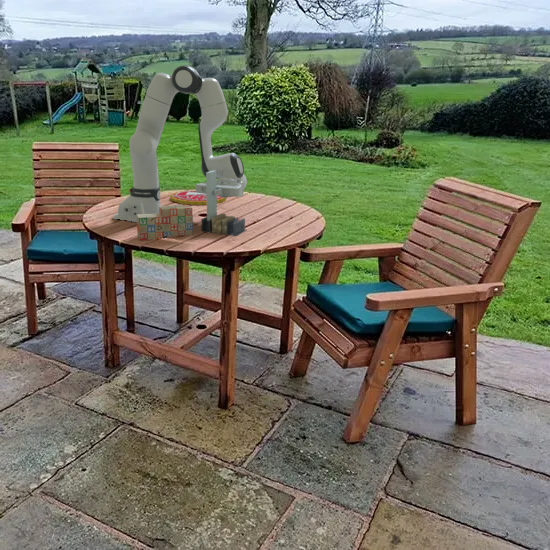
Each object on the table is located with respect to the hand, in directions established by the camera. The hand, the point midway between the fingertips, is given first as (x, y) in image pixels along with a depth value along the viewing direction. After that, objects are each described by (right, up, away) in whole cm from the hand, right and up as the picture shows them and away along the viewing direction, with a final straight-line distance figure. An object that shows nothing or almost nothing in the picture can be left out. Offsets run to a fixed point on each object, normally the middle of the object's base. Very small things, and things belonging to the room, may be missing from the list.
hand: (210, 192), depth 218 cm
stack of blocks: (-18, -19, -4) cm, 26 cm away
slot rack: (+5, -16, +4) cm, 18 cm away
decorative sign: (-15, +6, +67) cm, 69 cm away
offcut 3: (+7, -16, +3) cm, 18 cm away
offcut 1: (+3, -15, +5) cm, 16 cm away
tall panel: (0, -11, +5) cm, 12 cm away
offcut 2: (+5, -15, +4) cm, 17 cm away
